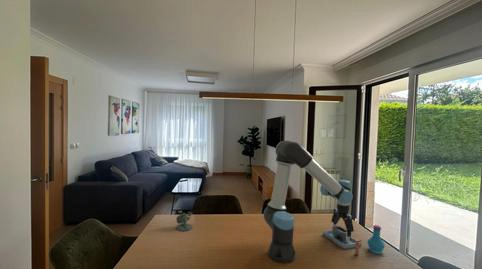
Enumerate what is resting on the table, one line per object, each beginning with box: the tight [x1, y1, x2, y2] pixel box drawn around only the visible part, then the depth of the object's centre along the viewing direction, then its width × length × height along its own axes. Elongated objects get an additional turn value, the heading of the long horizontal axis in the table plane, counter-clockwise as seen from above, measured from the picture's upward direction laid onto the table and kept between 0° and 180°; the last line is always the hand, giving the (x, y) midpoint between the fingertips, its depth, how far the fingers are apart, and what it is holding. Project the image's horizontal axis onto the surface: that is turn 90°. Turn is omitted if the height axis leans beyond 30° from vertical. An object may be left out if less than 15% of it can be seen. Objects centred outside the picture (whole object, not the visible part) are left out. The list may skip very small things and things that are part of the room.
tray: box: [322, 229, 362, 250], centre depth 159 cm, size 13×20×2 cm, turn 20°
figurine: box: [175, 210, 193, 232], centre depth 167 cm, size 11×11×12 cm
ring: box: [331, 225, 352, 242], centre depth 158 cm, size 10×8×6 cm
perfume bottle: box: [367, 224, 385, 254], centre depth 147 cm, size 9×9×15 cm
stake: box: [354, 239, 362, 256], centre depth 142 cm, size 4×2×9 cm, turn 110°
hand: (341, 237), depth 159 cm, fingers closed on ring, 10 cm apart
